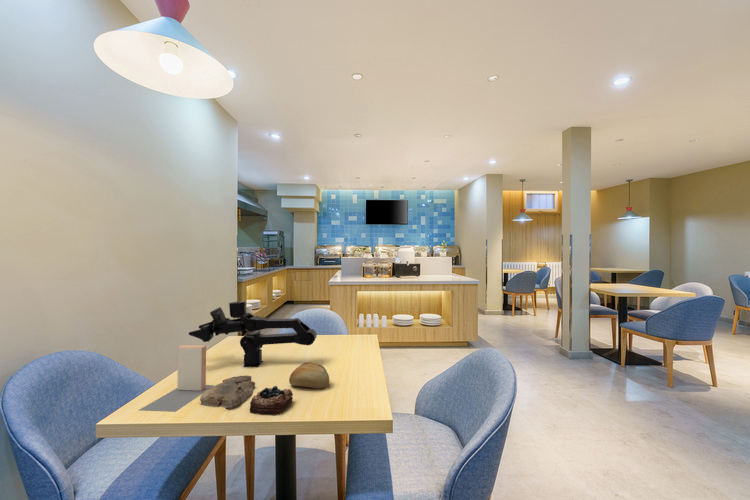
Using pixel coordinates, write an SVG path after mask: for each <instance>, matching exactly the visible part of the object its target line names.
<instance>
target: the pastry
mask: <svg viewBox="0 0 750 500" xmlns="http://www.w3.org/2000/svg"><path fill="white" fill-rule="evenodd" d="M293 396H294V394H293V391H292V389H290V388H284V389H281V388H279V387H278V386H277V385H273V387H265V388H263V389H261V390H260V391H257V394H256V395H253V397H252V398H251V400H250V403H249V405H250V406H249V413H252V414H256V413H259V415H272V416H277V414H279V415H281V414H282V413H284V412H285V411H286V410H287V409H288V408H289V407H290V406H291V404H292V402H293V399H294V398H293ZM280 413H281V414H280Z"/></svg>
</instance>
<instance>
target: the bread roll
mask: <svg viewBox="0 0 750 500" xmlns="http://www.w3.org/2000/svg"><path fill="white" fill-rule="evenodd" d="M288 381H289V382H288V383H289V384H290V385H291V386H295V387H303V388H304V387H305V388H312V389H325V388H327V387H328V386H330V376H329V373H328V371H327V369H326V367H325V366H324V365H322V364H321V363H318V362H304V363H302V364H299V366H297V367H296V368H295V369H294V370H293V371H292V372H291V374H290V375H289V379H288Z"/></svg>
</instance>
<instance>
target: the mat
mask: <svg viewBox="0 0 750 500" xmlns="http://www.w3.org/2000/svg"><path fill="white" fill-rule="evenodd" d="M214 386H215V384H206V388H205V389H204V390H202V391H189V390H177V387H175V388H174V389H172V390H171V391H169V392H168V393H166V394H163V395H162V396H160V397H158V398H157V399H156V400H153V401H152V402H151V403H148V404H147V405H145V406H143V407H142V408H140V409H139V411H143V412H144V411H145V412H168V413H169V412H172V413H176V412H177V411H179V410H181V409H182V408H183V407H185V406H187V405H188V404H190V403H191V402H192V401H194V400H196V399H197V398H199V396H200V395H202V394H203V392H204V391H205V390H208V389H209V388H211V387H214ZM200 397H201V396H200Z"/></svg>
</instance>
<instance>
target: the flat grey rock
mask: <svg viewBox="0 0 750 500" xmlns="http://www.w3.org/2000/svg"><path fill="white" fill-rule="evenodd" d="M255 386H256V382H255V381H252V376H251V375H237V376H232V377H231V376H230V377H228V378H225V379H223V380H222V382H220V383H218V384H216V385H214V386H213V387H211V388H209V389H208V390H205V391H204V392H203V394H201V396H200V398H199V401H200V403H201V405H203V406H205V407H214V408H217V407H223V408H224V409H227V410H233V409H235V408H236V407H238V406H240V405H241V404H243V403H244V402H246V400H247V399H248V398H249V397H250V396H252V395H253V393H254V388H255Z"/></svg>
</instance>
